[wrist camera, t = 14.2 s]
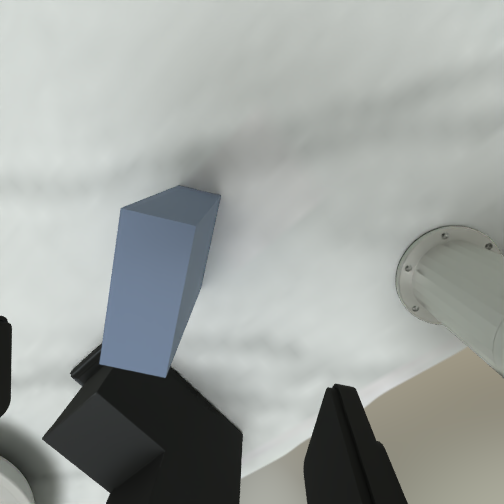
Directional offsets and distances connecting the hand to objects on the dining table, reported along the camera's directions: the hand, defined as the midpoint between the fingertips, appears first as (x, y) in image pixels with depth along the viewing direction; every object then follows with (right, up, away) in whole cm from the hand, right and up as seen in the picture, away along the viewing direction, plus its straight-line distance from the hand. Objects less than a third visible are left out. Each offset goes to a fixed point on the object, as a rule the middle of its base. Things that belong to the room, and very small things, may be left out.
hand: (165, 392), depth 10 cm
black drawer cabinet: (-10, -17, +38) cm, 43 cm away
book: (-5, +6, +31) cm, 32 cm away
